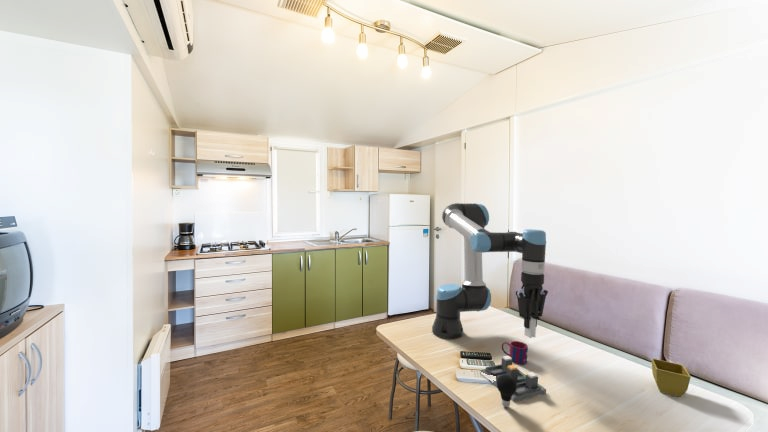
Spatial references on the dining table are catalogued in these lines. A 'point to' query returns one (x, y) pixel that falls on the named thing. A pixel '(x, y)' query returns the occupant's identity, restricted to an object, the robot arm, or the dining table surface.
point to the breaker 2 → (531, 380)
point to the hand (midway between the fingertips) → (529, 335)
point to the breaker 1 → (506, 362)
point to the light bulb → (506, 388)
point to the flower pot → (670, 377)
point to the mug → (517, 352)
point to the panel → (521, 389)
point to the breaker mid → (512, 371)
